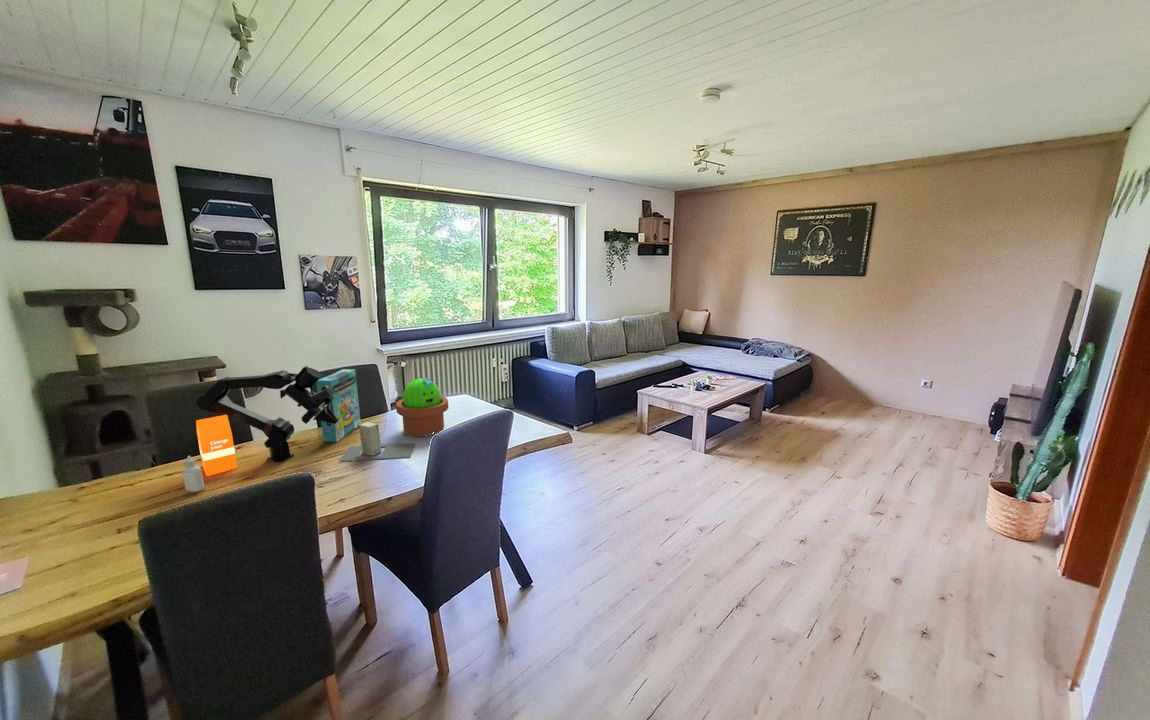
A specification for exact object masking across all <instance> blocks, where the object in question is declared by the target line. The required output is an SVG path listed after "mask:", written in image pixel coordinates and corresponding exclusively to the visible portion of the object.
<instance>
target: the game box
mask: <svg viewBox="0 0 1150 720" xmlns="http://www.w3.org/2000/svg"><path fill="white" fill-rule="evenodd" d="M315 384H316V388H317V390H316V391H317V393H318V392H320V391H322V390H321V388H322V387H323V386H326V385H327V386H328V387H330V388H332V389H333V390H332V392H333V393H334V394H333V395H331V396H333V397H334V399H333V400H332V401H331V402H330V403H331V405H330V409H331V411H332V412H333V414H334V415H335V417H336V418H337V419H338V422H337V423H336V424H334V423H329V422H325V421H320V422H321V423H320V424H321V433H322V440H323V441H322V442H323V443H337V442H339V441H340V440H342V439H344V438H345V437H346V436H347V435H349V434H350V433H351V432H353V431H355V430H356V429H357V428H359V427H358V426H359V425H360V424H362V423H361V415H360V404H359V402H360V401H359V394H358V393H359V392H358V385H357V373H356V369H352V368H351V369H350V368H349V369H348V368H344V369H343V368H342V369H341V370H339V371H336V372H334V373H332V374H329V375H327V376H326V375H325V376H324V377H321V378H320V379H319V380H318V381H317V382H316V383H315ZM330 403H329V404H330Z"/></svg>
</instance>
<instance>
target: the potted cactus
mask: <svg viewBox="0 0 1150 720" xmlns="http://www.w3.org/2000/svg"><path fill="white" fill-rule="evenodd" d="M395 408H396V414H398V415H399V416H401V417H402V424H403V425H402V426H403V433H404V434H405V435H407V436H410V437H416V436H421V437H426V436H425V435H429V434H432V433H433V432H434V434H432V435H436V434H438V433H440V432H442V431H443V430H444V429H443V427H444V428H445V419H444V415H445V414H444V413H445V412H446V411H448V410H449V399H448V398H447V397H445V396H443V395H442V393H441V391H440V389H439V386H437V384H436V383H435V382H434V381H432V379H431V378H429V377H423V378H422V377H421V378H420V377H418V378H416V379H414V380H411V381H410V382H409V383H407V385H406V387H404V391H403V394H402V399H399V400H398V401H396V403H395ZM441 430H442V431H441ZM439 431H440V432H439ZM437 432H438V433H437ZM432 435H431V436H432ZM429 436H430V435H429Z"/></svg>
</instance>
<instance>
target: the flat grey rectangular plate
mask: <svg viewBox="0 0 1150 720" xmlns="http://www.w3.org/2000/svg"><path fill="white" fill-rule="evenodd" d="M415 444H417V442H403V443H402V442H400V443H385V444H383V443H382V444H381V443H380V445H381V449H382V447H385V448H384V449H383V451H382V452H381V453H380V455H373V456H372V455H369V456H359V455H360V454H359V453H361V452H362V451H361V450H362V446H361V445H350V446H349V447H348V448H347V450H346V451H345V452H344V454H343V455H342V456H341V457H340V458H339V460H338V462H339V461H348V462H353V461H352V460H364V461H376V460H392V459H393V460H394V459H405V458H406V459H410V458H411V456H412V455H411V454H413V452H414V449H415V448H416V445H415ZM360 451H361V452H360ZM358 454H359V455H358Z"/></svg>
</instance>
